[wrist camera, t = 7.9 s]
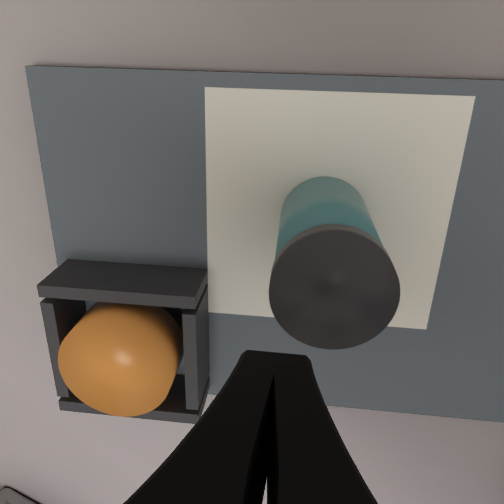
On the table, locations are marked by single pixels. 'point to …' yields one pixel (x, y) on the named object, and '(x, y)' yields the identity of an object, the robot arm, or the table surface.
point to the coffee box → (12, 497)
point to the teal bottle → (331, 268)
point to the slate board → (278, 221)
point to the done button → (122, 357)
